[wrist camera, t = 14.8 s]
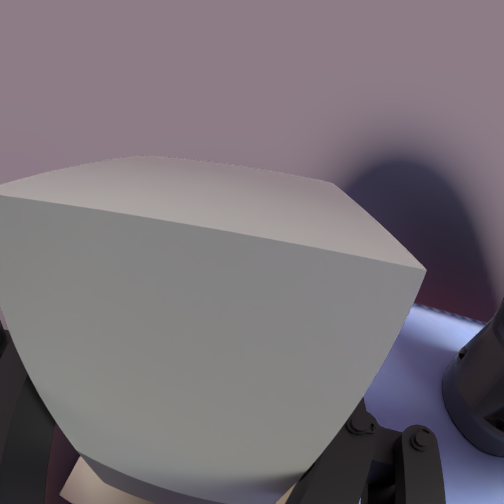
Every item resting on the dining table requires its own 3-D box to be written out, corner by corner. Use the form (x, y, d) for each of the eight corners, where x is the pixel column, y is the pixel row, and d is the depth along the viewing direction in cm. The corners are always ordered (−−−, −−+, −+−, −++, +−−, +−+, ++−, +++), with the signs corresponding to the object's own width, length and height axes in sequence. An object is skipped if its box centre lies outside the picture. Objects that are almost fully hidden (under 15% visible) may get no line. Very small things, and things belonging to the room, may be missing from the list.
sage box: (265, 417, 14) (332, 182, 9) (251, 525, 8) (426, 270, 3) (150, 389, 14) (141, 155, 9) (103, 482, 8) (-22, 192, 3)
